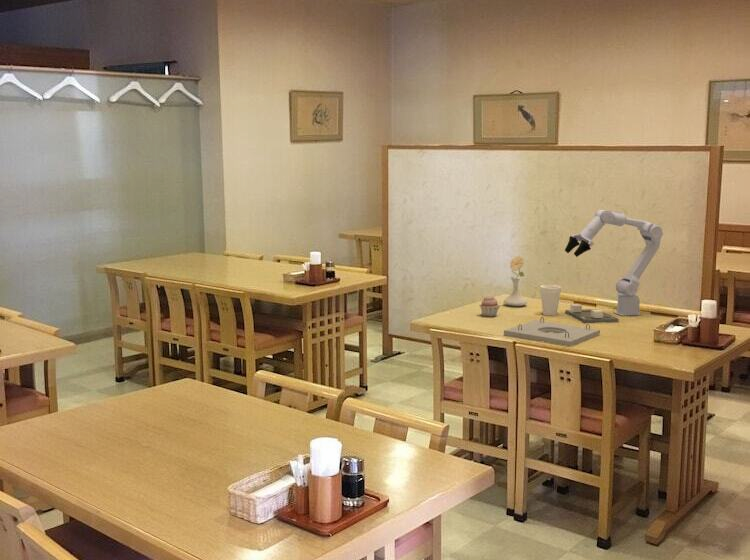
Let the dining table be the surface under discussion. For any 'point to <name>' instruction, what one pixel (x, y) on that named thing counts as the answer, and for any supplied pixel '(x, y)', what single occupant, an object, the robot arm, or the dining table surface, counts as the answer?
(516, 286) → the flower in vase
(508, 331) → the mounting panel
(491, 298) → the cupcake
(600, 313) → the handle
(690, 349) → the dining table surface
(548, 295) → the foam cup
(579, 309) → the handle
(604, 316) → the plate
